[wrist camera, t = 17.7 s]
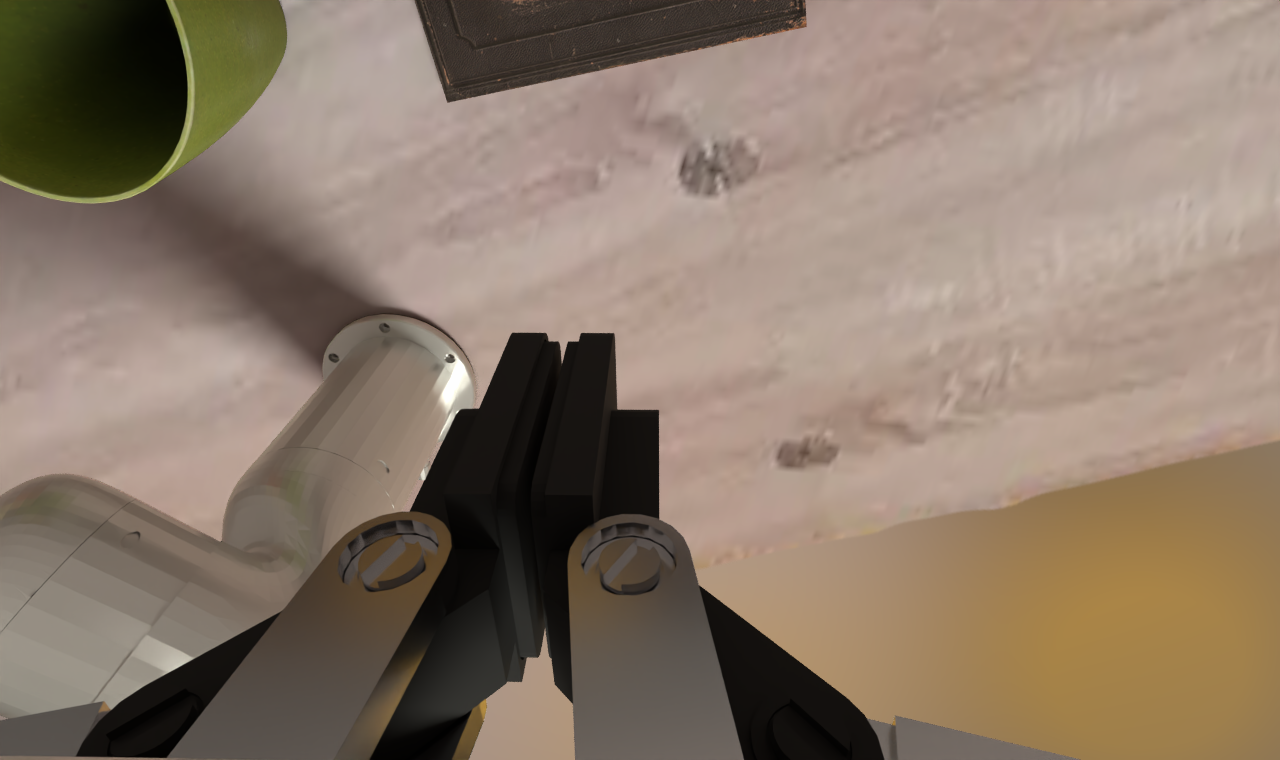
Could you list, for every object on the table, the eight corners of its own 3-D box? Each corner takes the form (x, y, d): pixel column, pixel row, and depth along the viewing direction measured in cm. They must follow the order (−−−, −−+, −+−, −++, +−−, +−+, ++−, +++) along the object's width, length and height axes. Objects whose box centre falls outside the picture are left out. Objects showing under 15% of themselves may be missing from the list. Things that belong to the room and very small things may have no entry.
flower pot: (75, 43, 42) (-209, 68, 28) (133, -203, 35) (-200, -326, 22) (296, 182, 46) (144, 262, 32) (383, -14, 40) (238, -17, 26)
